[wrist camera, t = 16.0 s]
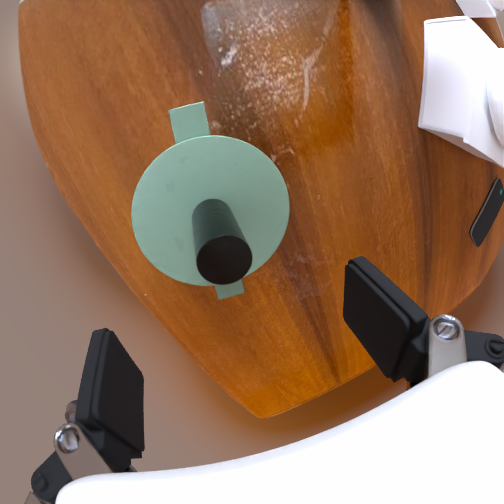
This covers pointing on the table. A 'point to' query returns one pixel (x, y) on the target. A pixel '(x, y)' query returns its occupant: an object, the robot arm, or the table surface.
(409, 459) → the robot arm
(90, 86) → the table surface
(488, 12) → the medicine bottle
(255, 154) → the pot lid
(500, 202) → the smartphone
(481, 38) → the white box
